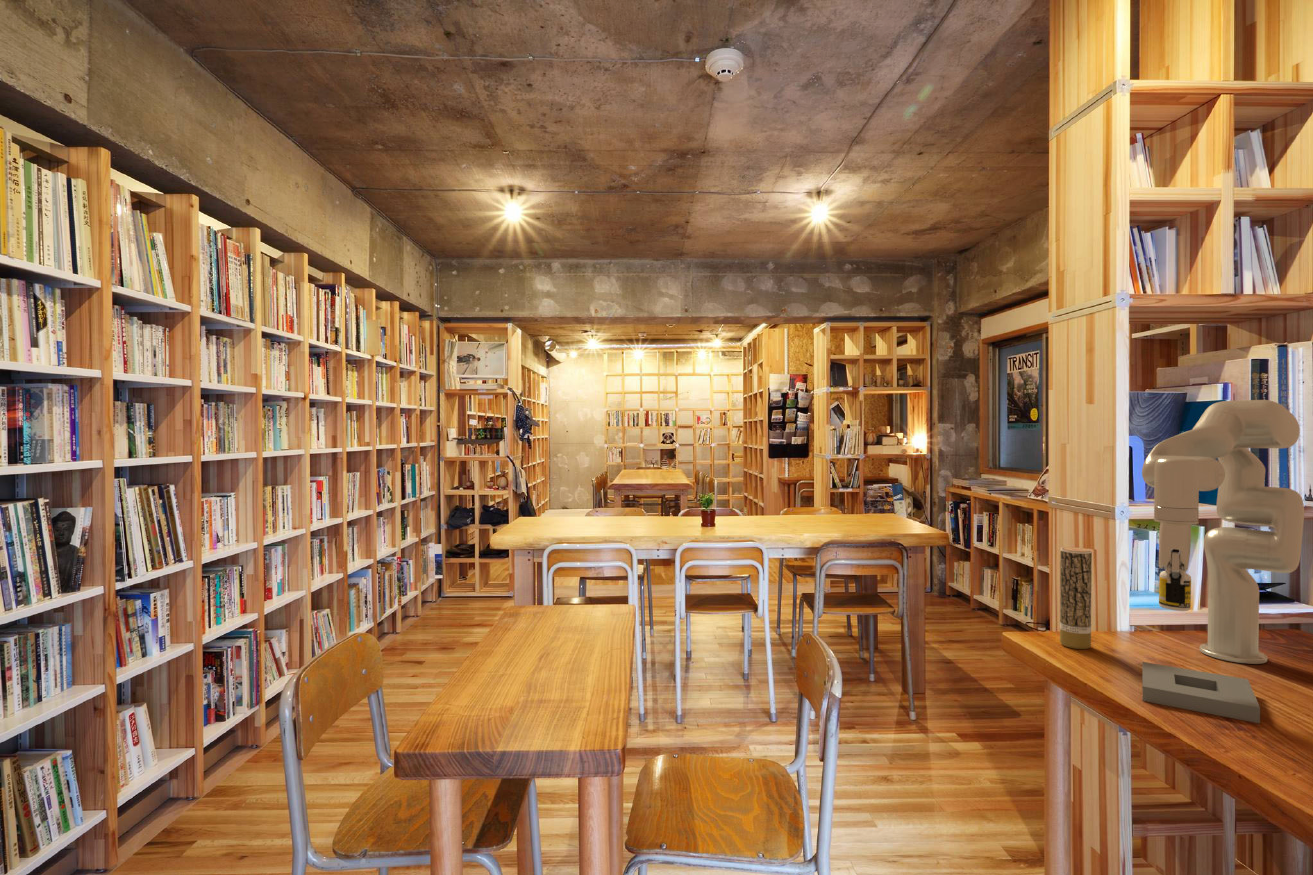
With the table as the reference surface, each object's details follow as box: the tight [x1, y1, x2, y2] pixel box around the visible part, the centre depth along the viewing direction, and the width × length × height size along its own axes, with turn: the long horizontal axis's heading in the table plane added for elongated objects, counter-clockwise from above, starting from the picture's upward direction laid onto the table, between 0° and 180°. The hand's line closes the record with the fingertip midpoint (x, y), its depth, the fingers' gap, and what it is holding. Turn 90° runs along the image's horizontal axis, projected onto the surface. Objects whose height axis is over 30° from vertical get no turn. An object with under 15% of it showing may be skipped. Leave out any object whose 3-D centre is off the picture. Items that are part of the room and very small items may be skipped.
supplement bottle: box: [1158, 562, 1192, 612], centre depth 143 cm, size 5×5×10 cm
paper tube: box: [1059, 546, 1093, 650], centre depth 172 cm, size 7×7×25 cm
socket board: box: [1141, 661, 1261, 724], centre depth 139 cm, size 18×18×3 cm
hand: (1175, 598), depth 143 cm, fingers closed on supplement bottle, 5 cm apart
